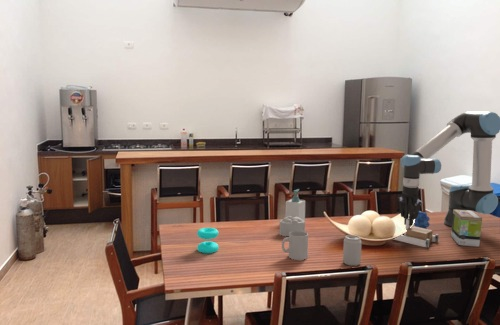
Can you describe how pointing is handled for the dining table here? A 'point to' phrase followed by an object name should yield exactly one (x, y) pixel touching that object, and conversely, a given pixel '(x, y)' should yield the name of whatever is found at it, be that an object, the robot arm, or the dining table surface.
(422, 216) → the grapes
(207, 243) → the donuts
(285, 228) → the lumpy-topped squat cylinder
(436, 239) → the white parallel rail frame
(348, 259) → the can
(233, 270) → the dining table surface
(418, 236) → the block
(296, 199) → the soap bottle
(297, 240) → the mug
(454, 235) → the tea box
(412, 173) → the robot arm
